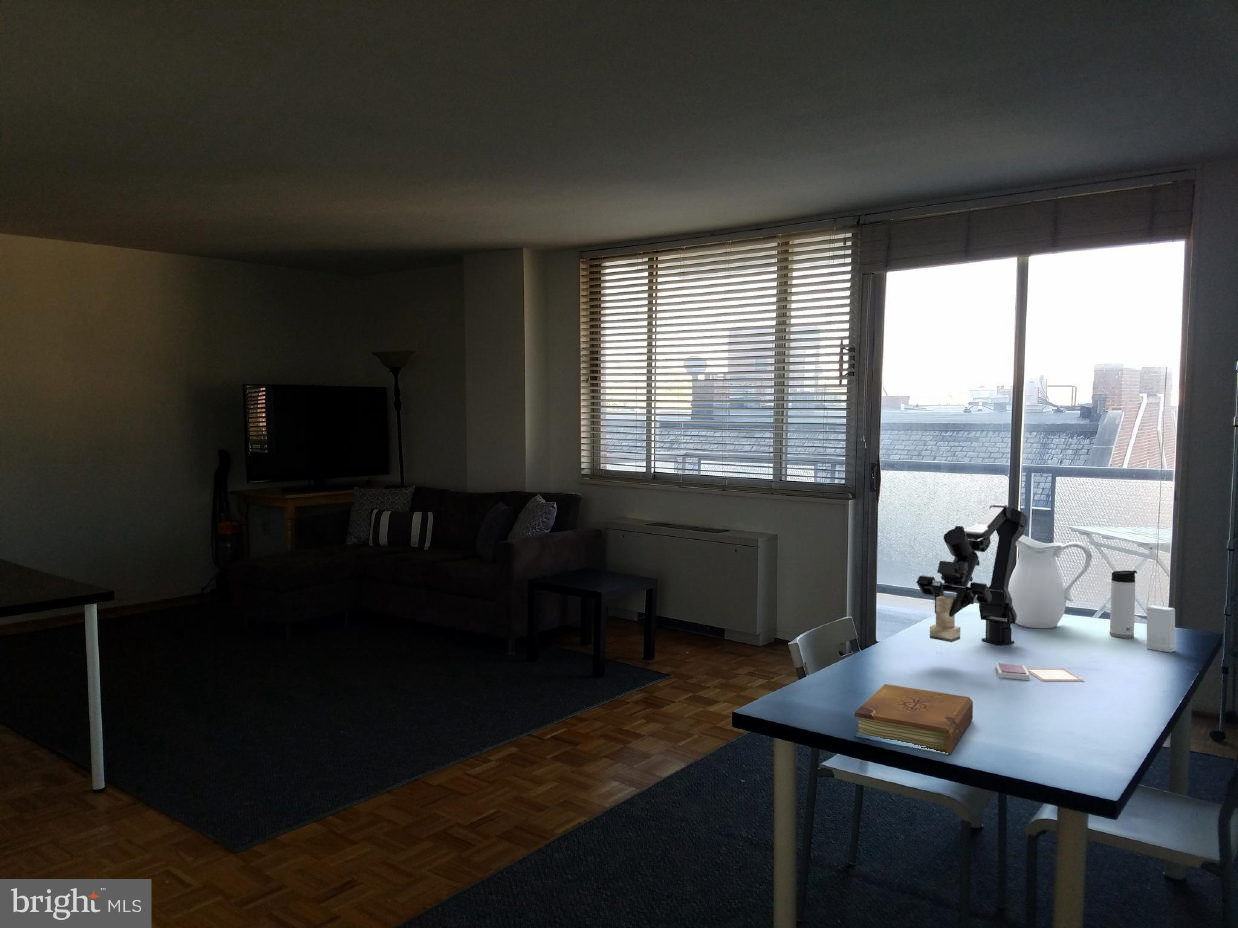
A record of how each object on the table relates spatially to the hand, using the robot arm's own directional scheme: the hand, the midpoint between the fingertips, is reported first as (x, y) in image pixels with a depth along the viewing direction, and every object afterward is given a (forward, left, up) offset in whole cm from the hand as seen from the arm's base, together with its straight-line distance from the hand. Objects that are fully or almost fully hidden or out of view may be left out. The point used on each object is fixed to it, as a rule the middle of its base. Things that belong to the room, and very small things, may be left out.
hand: (942, 614), depth 229 cm
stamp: (0, +1, -7) cm, 7 cm away
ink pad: (+13, +10, -13) cm, 22 cm away
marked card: (+19, +19, -13) cm, 30 cm away
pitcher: (-20, +63, -14) cm, 68 cm away
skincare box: (+13, +68, -14) cm, 71 cm away
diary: (+34, -41, -14) cm, 55 cm away
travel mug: (-2, +73, -14) cm, 74 cm away
